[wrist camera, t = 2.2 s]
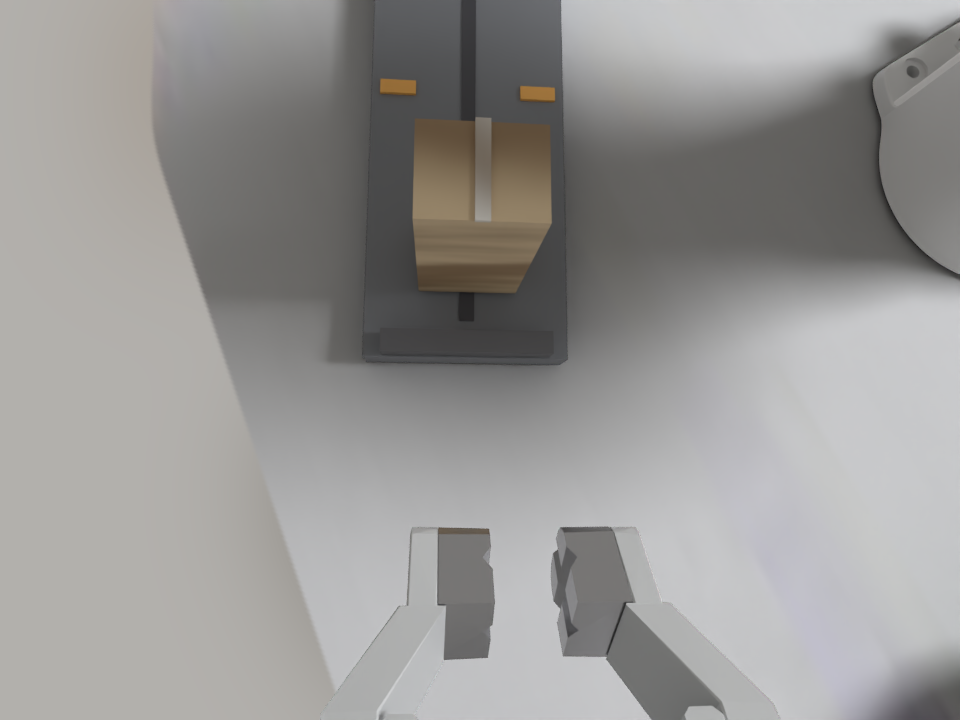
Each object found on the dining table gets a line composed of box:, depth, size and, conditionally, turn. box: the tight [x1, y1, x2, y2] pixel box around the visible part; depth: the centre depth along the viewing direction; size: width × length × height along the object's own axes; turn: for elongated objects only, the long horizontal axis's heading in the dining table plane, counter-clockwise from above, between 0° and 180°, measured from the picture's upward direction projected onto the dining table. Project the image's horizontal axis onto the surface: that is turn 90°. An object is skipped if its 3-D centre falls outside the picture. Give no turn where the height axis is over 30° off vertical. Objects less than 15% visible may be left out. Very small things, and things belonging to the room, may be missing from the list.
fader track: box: [362, 0, 568, 365], centre depth 34 cm, size 25×11×3 cm, turn 0°
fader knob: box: [413, 117, 552, 293], centre depth 27 cm, size 4×5×10 cm
